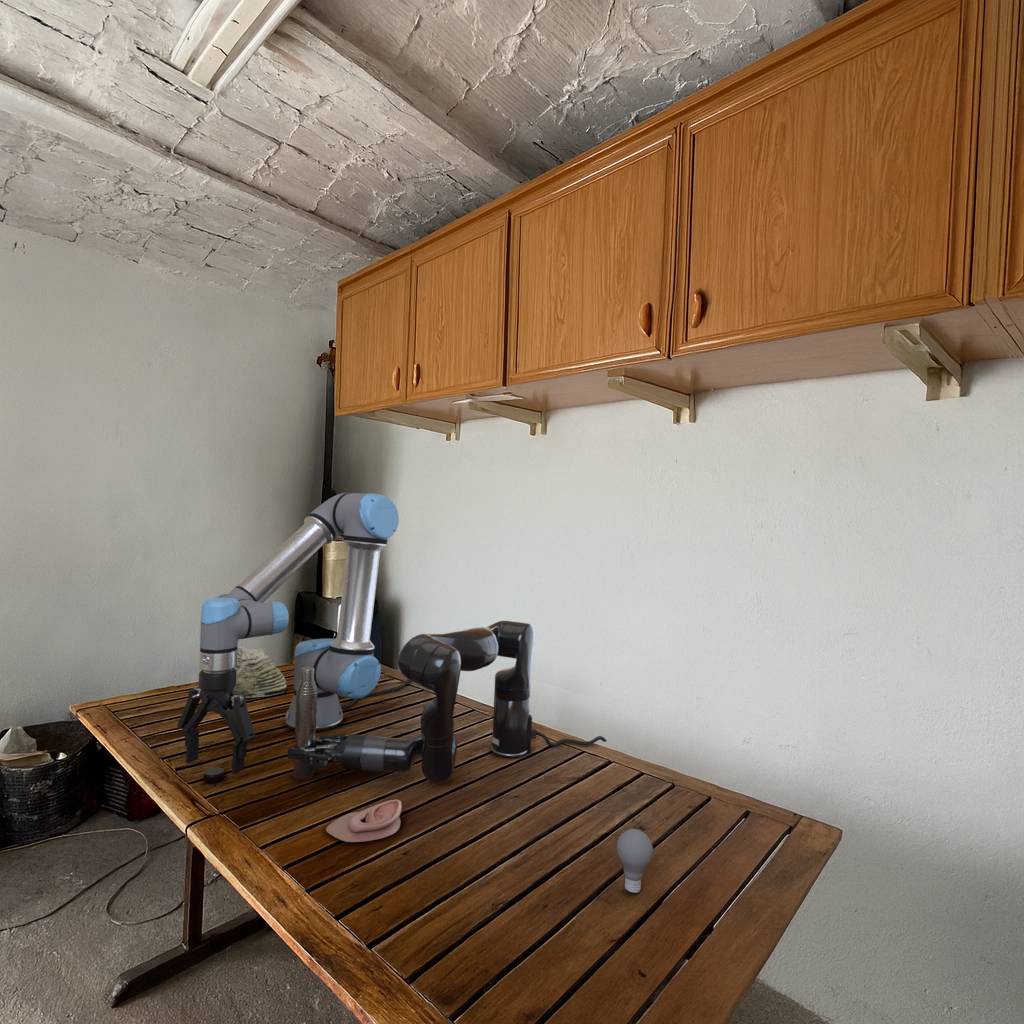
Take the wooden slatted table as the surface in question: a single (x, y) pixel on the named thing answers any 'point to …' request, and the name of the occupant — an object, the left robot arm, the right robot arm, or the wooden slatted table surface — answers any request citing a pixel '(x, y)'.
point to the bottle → (305, 721)
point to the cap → (213, 775)
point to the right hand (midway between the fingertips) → (293, 748)
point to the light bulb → (634, 857)
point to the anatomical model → (368, 823)
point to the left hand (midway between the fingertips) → (214, 766)
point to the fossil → (257, 674)
